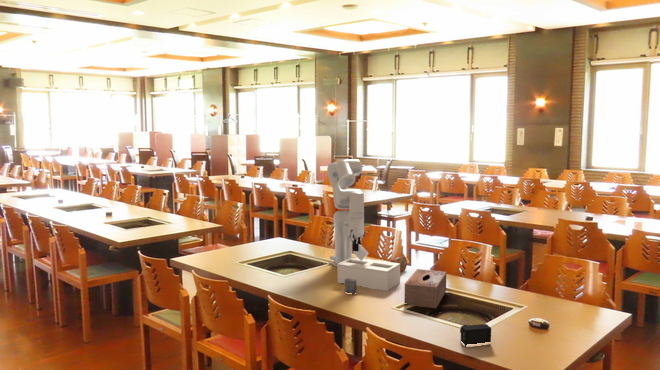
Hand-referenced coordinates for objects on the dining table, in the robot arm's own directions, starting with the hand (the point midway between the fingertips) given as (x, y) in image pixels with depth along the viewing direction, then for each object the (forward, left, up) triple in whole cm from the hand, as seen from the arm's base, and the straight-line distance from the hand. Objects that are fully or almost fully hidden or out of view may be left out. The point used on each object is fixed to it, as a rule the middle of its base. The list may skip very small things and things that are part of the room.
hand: (356, 250), depth 289 cm
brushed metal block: (+7, -20, -16) cm, 27 cm away
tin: (+13, +24, -17) cm, 32 cm away
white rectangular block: (+7, 0, -16) cm, 18 cm away
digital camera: (+76, -49, -17) cm, 92 cm away
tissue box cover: (+41, -8, -17) cm, 45 cm away
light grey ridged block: (+5, 0, -3) cm, 6 cm away
